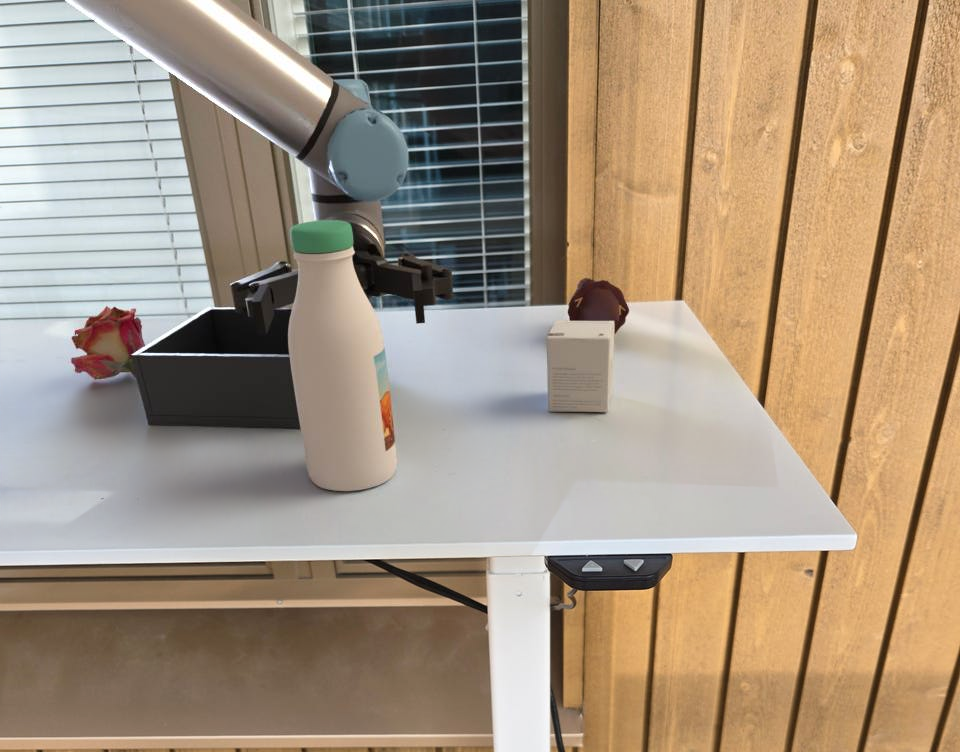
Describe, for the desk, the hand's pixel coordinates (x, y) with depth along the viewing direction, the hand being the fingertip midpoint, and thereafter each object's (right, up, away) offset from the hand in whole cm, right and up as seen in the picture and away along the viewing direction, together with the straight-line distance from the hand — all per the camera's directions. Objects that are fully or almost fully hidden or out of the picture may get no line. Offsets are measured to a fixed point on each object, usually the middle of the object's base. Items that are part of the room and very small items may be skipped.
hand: (339, 312), depth 75 cm
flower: (-30, +2, +27) cm, 41 cm away
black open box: (-11, -2, +20) cm, 23 cm away
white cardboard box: (+22, -4, +14) cm, 26 cm away
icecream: (+26, +8, +32) cm, 42 cm away
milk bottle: (+1, -14, +2) cm, 14 cm away
